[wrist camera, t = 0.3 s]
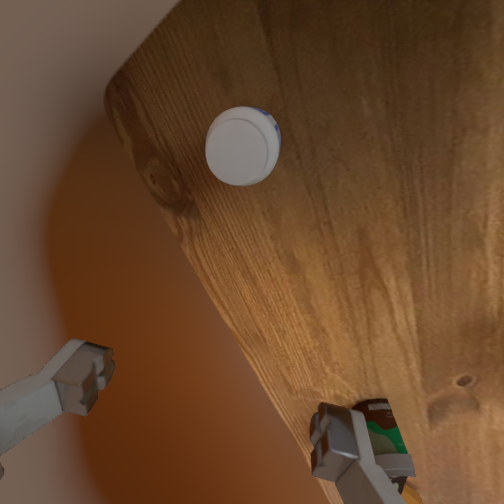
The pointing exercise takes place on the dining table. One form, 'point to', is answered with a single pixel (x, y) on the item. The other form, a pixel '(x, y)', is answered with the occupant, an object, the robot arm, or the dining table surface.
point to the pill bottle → (243, 145)
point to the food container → (387, 441)
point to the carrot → (411, 495)
